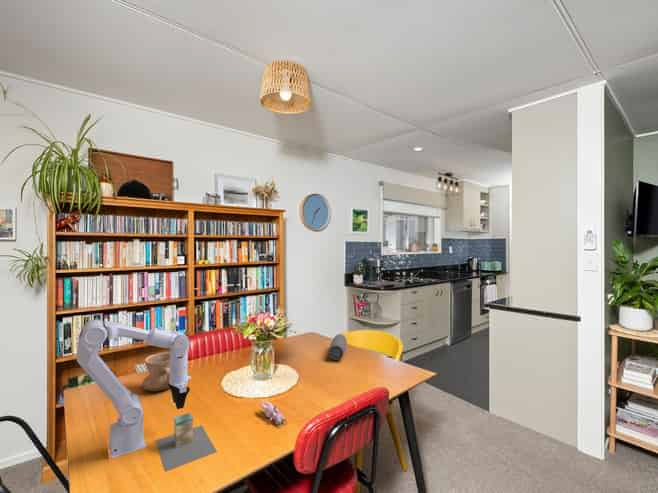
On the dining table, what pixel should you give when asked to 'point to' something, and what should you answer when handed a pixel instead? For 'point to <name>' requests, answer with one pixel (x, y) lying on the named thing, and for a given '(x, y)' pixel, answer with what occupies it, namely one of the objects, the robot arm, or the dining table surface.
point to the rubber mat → (184, 449)
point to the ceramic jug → (157, 372)
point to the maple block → (183, 429)
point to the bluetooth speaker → (338, 347)
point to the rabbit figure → (273, 413)
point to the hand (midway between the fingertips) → (178, 405)
